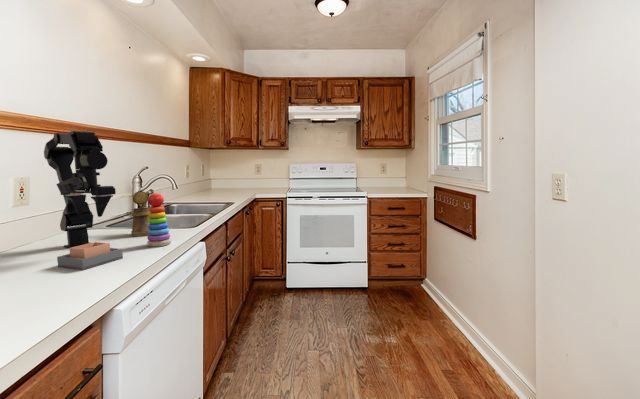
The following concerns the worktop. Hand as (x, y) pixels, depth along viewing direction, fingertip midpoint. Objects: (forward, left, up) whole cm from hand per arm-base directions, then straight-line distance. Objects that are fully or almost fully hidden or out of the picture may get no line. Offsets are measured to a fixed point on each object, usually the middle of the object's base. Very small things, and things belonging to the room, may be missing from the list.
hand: (90, 216), depth 115 cm
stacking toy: (+15, +14, -12) cm, 24 cm away
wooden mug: (-8, +28, -12) cm, 32 cm away
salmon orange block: (+13, -10, -11) cm, 20 cm away
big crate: (+13, -10, -12) cm, 20 cm away
